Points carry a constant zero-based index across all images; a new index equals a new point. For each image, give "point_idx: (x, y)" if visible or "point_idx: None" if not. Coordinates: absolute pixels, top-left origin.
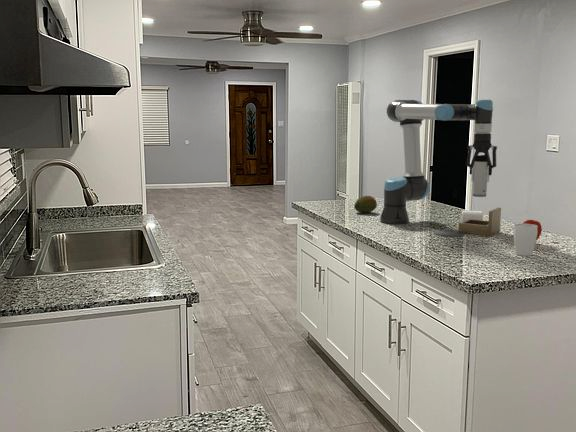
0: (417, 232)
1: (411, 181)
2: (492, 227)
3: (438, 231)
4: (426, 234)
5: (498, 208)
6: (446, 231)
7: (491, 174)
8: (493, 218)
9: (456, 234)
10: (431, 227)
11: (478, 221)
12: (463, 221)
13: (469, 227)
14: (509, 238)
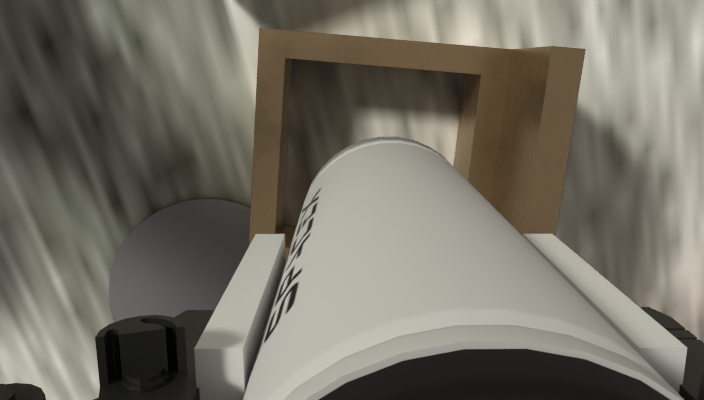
0: (12, 350)
1: None
2: None
3: (129, 288)
4: (90, 383)
5: (565, 108)
6: (177, 261)
7: (660, 321)
8: None
9: None
10: (11, 122)
11: (355, 63)
12: (257, 178)
13: None
14: (604, 246)
